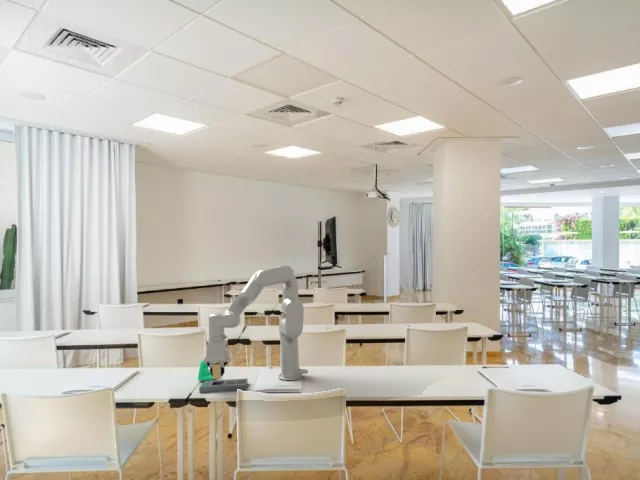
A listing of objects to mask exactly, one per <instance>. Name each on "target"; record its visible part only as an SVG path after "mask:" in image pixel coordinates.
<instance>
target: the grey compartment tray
mask: <svg viewBox="0 0 640 480" xmlns="http://www.w3.org/2000/svg"><path fill="white" fill-rule="evenodd" d="M248 382H249V381H248V378H246V377H245V378H232V379H229V378H228V379H215V380H203V381H202V383H201V384H200V386H199V390H198V391H199V392H198V393H199V394H202V393H203V394H205V393H220V392H232V391H233V392H234V391H236V390H237V389H241V390H240V391H246V389H247V386H248Z"/></svg>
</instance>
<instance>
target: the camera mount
mask: <svg viewBox="0 0 640 480" xmlns="http://www.w3.org/2000/svg"><path fill="white" fill-rule="evenodd" d="M203 360H204V359H201V361H200V364H199V365H200V366H199V370H198V375H197V381H212V380H216V379H213V376H211V374H210V369H209V366H208V365H207V364H205V363H203Z"/></svg>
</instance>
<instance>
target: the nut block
mask: <svg viewBox="0 0 640 480" xmlns="http://www.w3.org/2000/svg"><path fill="white" fill-rule="evenodd" d="M221 366H222V365H221V362H214V363H213V365H212V370H213V379H215V380H222V377H223V376H221Z"/></svg>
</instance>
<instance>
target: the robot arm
mask: <svg viewBox="0 0 640 480" xmlns="http://www.w3.org/2000/svg"><path fill="white" fill-rule="evenodd" d="M279 284H281V287H282V294H281V295H282V297H281V298H282V299H281V300H282V301H281V310H282V312H283V314H285V317H283V318H282V319H281V320H280V322H279V324H278V332H279V333H278V334H279V339H280V340H279V341H280V342H279V343H280V365H281V367H280V368H281V369H280V370H281V372H280V374H279V375H278V379H279V380H281V379H282V380H281V381H286V380H291V381H296V380H300V379H302V377H303V374H308V373H309V372H308V371H309V370H308V369H305V368H301V366H300V358H299V356H300V355H299V353H300V352H299V337H301V335H302V333H303V329H304V317H305V316H304V314H305V308H304V305H303V303H302V301H301V300H300V299H299V283H298V280H297V277H296V276H295V272H294V269H293V267H291V266H289V265H287V264H284V265H283V264H281V265H277V266H275V267H273V268H268V269H258V270H256V271H255V272H254V274H252V276H251V278H250V279H249V281H248V282H247V283H246V285H245V286H244V287H243V289H242V290H241V291H240V293H239V294H238V295H237V296H236V297H235V299H234V300H233V301H232V302H231V304H230V305H229V306H228V308H227V309H226V310H225V312H224V314H223V313H221V312H216V313H211V314H209V315H208V341H207V345H206V354H205V355H206V356H205V357H204V359H202V360H203V363H205V364H207V365H208V366H209V367H208V369H209V371H210V374H211V376H213V370H212V365H213V363H214V362H221V365H222V366H221V376H222V377H223V376H224V374H225V367H226V366H227V364H229V363H230V362H231V361H232V358H231V357H230V355H229V351H228V349H229V347H228V342H227V340H226V339H228V335H226V334H225V328H226V329H227V328H228V329H229V328H230V329H233V328H236V327H238V326H239V325H240V324H241V318H240V316H241V314H242V313H243V312H244V310H245V309H246V308H247V307H248V306H250V305H251V304H253V303H254V302H255V301H256V300H257V298H258V297H259V296H260V294H261V293H262V291H263V290H264V288H265V287H270V286H274V285H279Z"/></svg>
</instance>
